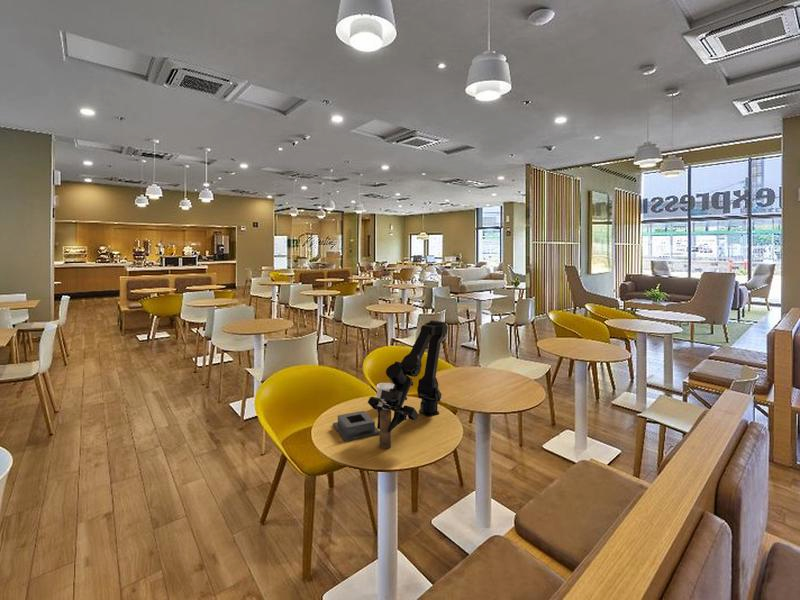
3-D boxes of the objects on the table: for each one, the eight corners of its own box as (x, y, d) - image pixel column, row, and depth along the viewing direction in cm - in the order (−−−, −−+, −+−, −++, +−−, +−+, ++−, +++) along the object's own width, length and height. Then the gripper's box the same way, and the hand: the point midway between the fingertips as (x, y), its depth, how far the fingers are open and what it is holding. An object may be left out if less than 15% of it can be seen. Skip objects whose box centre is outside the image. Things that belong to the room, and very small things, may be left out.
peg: (387, 442, 149) (388, 408, 147) (392, 447, 146) (393, 413, 144) (377, 444, 148) (378, 410, 145) (382, 450, 144) (382, 415, 142)
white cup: (386, 413, 174) (387, 390, 172) (372, 408, 179) (372, 386, 177) (398, 407, 180) (398, 385, 179) (384, 402, 185) (384, 381, 183)
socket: (365, 419, 168) (366, 408, 167) (379, 434, 155) (380, 422, 155) (332, 425, 162) (332, 414, 161) (344, 441, 149) (344, 430, 148)
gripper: (370, 375, 151) (352, 414, 143) (415, 385, 142) (397, 428, 134) (382, 389, 159) (365, 427, 151) (425, 400, 149) (409, 441, 142)
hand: (383, 430), depth 144 cm, fingers closed on peg, 4 cm apart
